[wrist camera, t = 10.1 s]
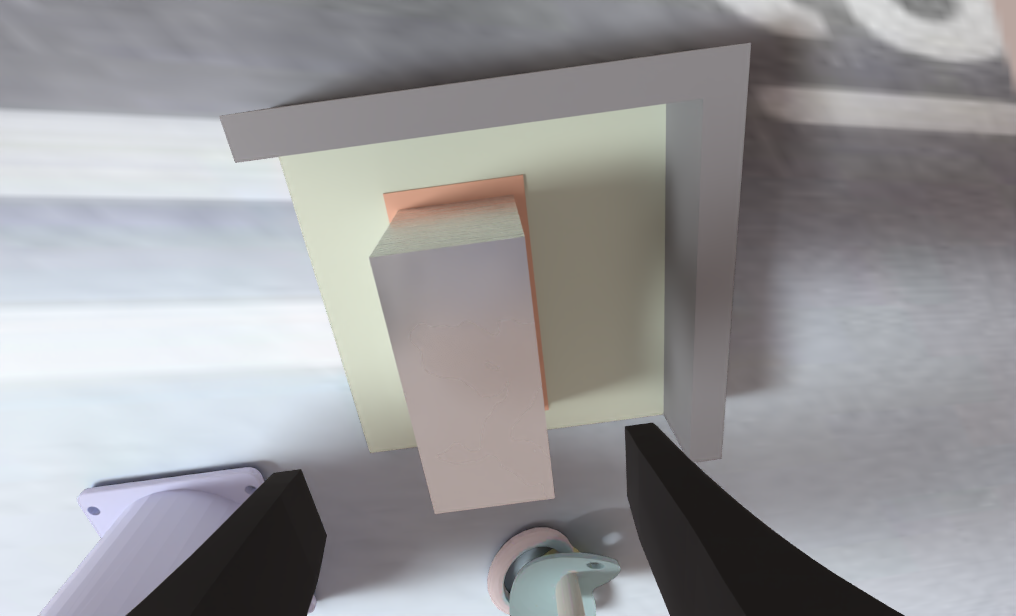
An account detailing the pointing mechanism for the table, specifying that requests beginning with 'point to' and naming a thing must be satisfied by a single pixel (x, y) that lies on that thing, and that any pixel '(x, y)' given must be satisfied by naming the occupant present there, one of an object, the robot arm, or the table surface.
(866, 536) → the table surface
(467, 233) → the aluminium bar
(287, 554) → the robot arm
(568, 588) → the pacifier
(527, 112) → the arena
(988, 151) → the table surface
